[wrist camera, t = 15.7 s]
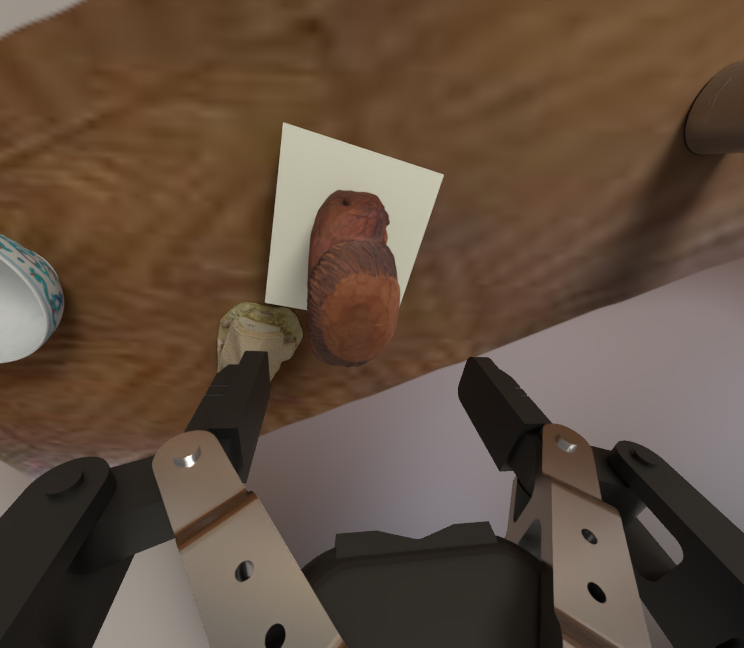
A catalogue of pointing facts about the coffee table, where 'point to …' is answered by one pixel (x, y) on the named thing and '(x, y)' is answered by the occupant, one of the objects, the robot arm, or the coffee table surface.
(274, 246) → the cream white square block
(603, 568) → the robot arm
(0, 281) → the chinaware
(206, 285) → the coffee table surface
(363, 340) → the wooden figurine
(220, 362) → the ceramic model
